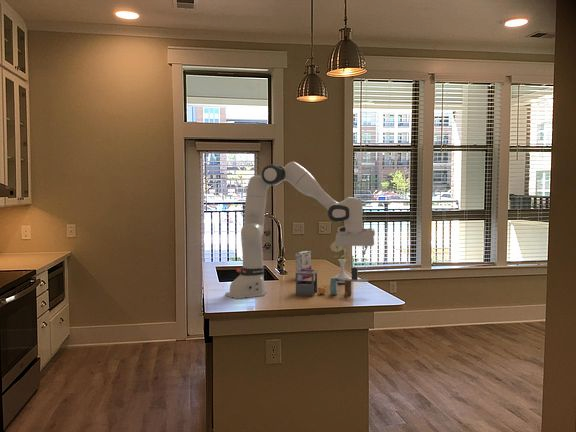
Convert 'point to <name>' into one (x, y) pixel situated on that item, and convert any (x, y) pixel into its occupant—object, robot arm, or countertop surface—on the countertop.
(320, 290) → the ball
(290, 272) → the countertop surface
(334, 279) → the rod
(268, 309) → the countertop surface
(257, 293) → the robot arm
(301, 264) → the candy bar box
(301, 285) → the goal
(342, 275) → the flower in vase
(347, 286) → the rod cradle
